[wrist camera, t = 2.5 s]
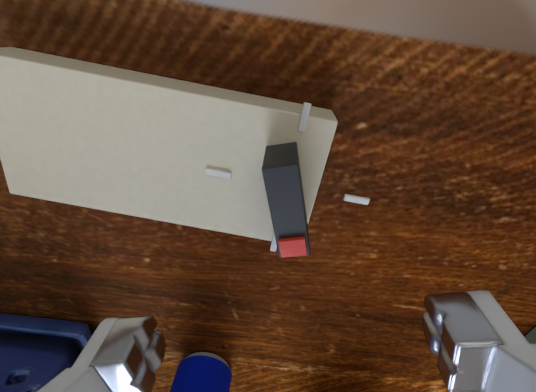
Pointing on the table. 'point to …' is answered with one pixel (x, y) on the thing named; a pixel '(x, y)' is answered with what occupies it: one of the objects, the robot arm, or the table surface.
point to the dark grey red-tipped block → (286, 199)
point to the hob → (151, 143)
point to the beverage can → (202, 374)
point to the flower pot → (37, 350)
